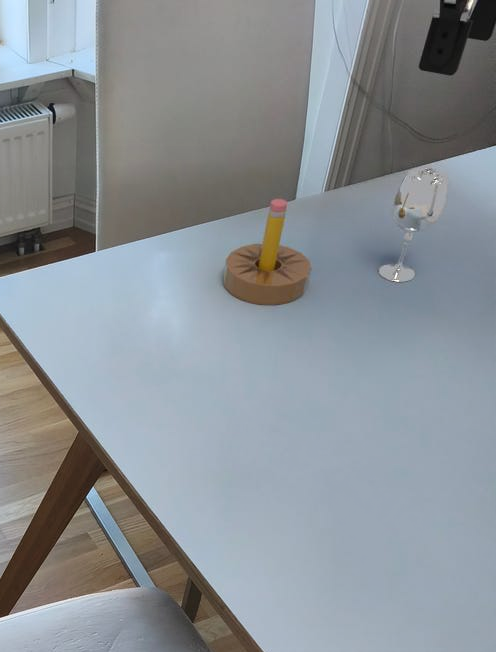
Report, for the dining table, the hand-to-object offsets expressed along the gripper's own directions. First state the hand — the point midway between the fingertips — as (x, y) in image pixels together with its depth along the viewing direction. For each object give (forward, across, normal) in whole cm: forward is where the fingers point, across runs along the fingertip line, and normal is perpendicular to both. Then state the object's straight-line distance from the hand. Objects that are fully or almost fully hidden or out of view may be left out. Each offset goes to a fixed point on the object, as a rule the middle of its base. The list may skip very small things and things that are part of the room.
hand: (455, 54), depth 79 cm
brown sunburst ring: (+30, +8, +16) cm, 35 cm away
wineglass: (+30, +19, +3) cm, 36 cm away
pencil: (+30, +8, +16) cm, 35 cm away
